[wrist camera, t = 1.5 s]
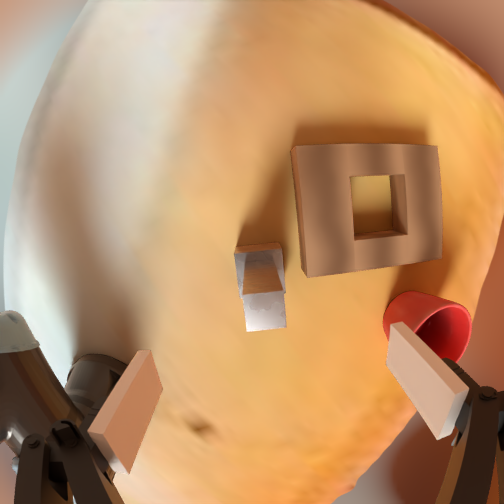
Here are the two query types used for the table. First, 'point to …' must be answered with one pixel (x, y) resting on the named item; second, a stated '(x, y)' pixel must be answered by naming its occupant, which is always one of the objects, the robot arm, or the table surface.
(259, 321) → the grey stepped bar
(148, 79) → the table surface
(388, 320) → the flower pot
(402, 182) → the well block
